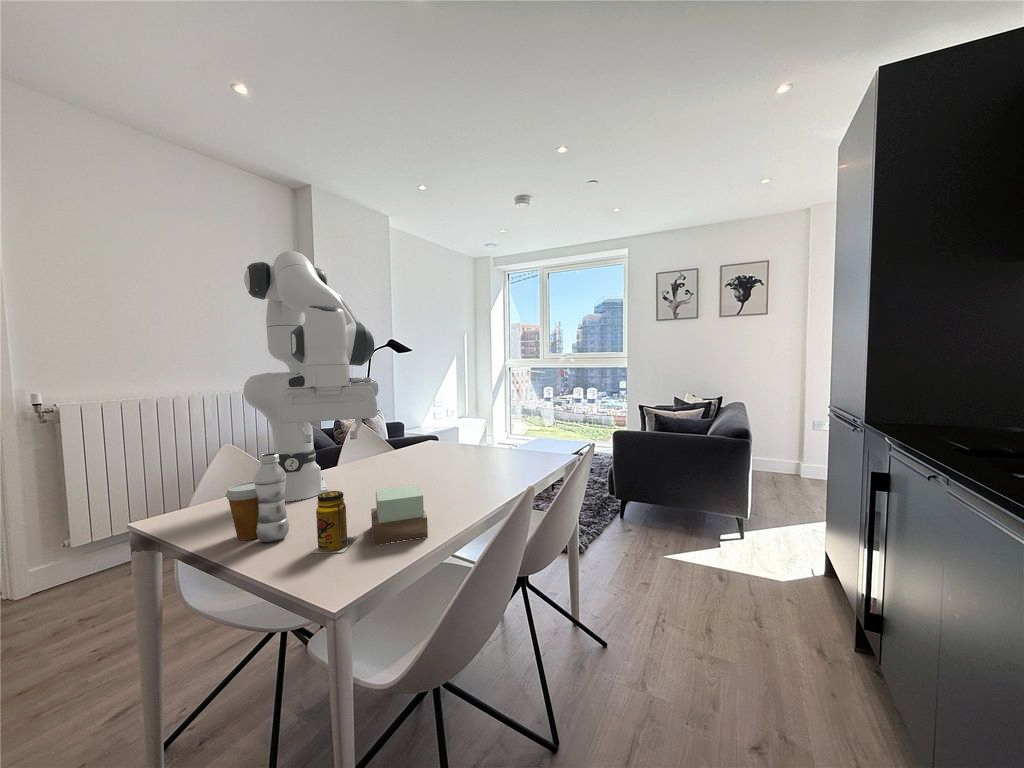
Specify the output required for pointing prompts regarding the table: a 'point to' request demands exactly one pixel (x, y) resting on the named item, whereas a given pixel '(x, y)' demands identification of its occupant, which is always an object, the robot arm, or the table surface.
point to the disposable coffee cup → (244, 509)
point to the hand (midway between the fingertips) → (331, 440)
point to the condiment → (332, 523)
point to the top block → (399, 503)
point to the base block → (398, 529)
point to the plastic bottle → (271, 499)
